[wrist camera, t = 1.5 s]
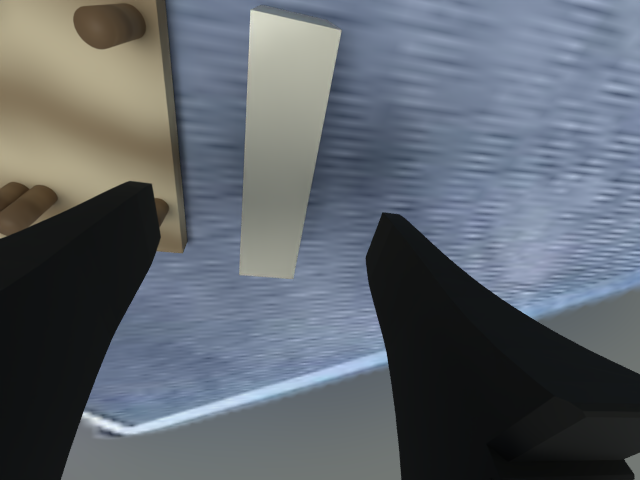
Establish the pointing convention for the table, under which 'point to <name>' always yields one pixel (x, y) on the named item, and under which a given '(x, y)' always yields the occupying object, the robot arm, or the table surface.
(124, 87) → the peg rack
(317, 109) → the clay bar
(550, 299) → the table surface
